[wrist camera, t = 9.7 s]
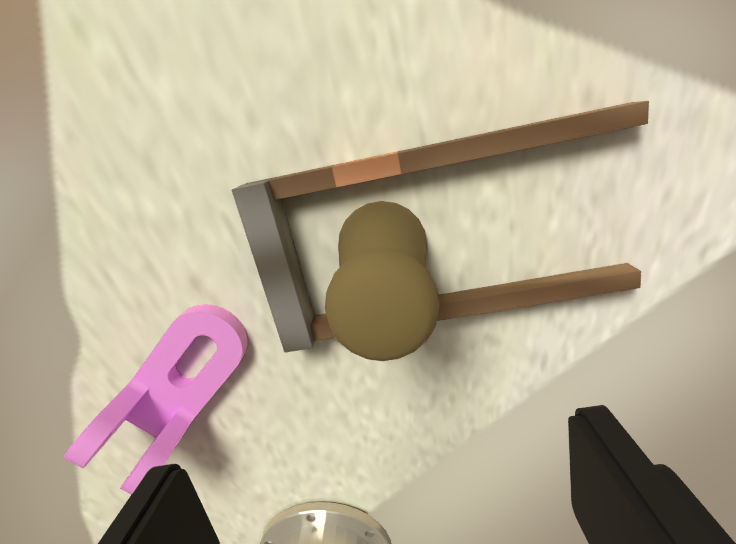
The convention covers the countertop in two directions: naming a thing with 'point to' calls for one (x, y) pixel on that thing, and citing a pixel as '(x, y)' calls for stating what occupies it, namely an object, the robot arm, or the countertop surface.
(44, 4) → the countertop surface
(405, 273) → the cork
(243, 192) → the guide channel
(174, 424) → the bracket
